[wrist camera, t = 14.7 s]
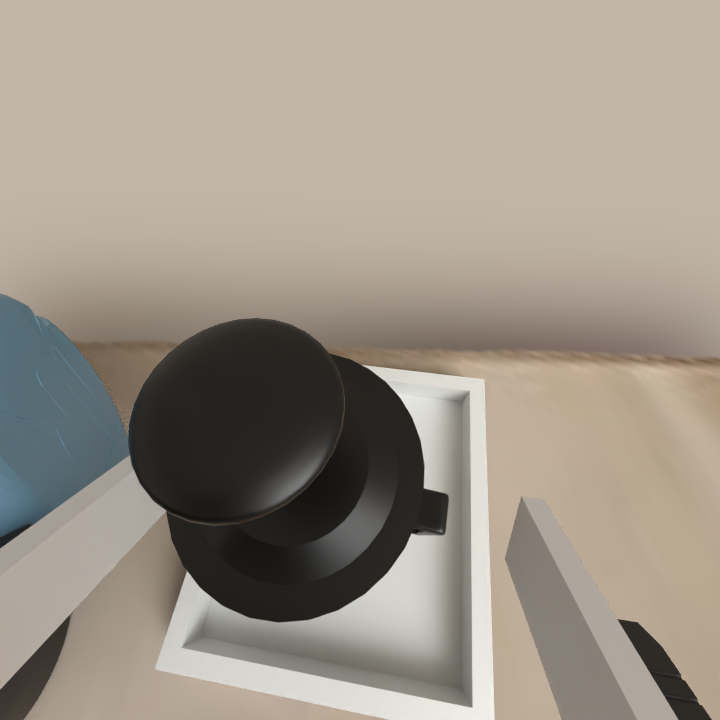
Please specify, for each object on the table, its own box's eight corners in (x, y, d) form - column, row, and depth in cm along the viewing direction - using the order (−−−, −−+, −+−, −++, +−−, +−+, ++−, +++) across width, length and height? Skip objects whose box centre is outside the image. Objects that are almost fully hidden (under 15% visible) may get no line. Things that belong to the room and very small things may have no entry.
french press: (253, 552, 25) (-246, 626, 5) (292, 432, 29) (116, 200, 9) (407, 594, 24) (643, 965, 3) (425, 462, 28) (575, 264, 7)
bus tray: (183, 651, 23) (154, 669, 20) (268, 369, 33) (258, 352, 30) (477, 712, 21) (495, 742, 18) (472, 394, 31) (484, 379, 28)
